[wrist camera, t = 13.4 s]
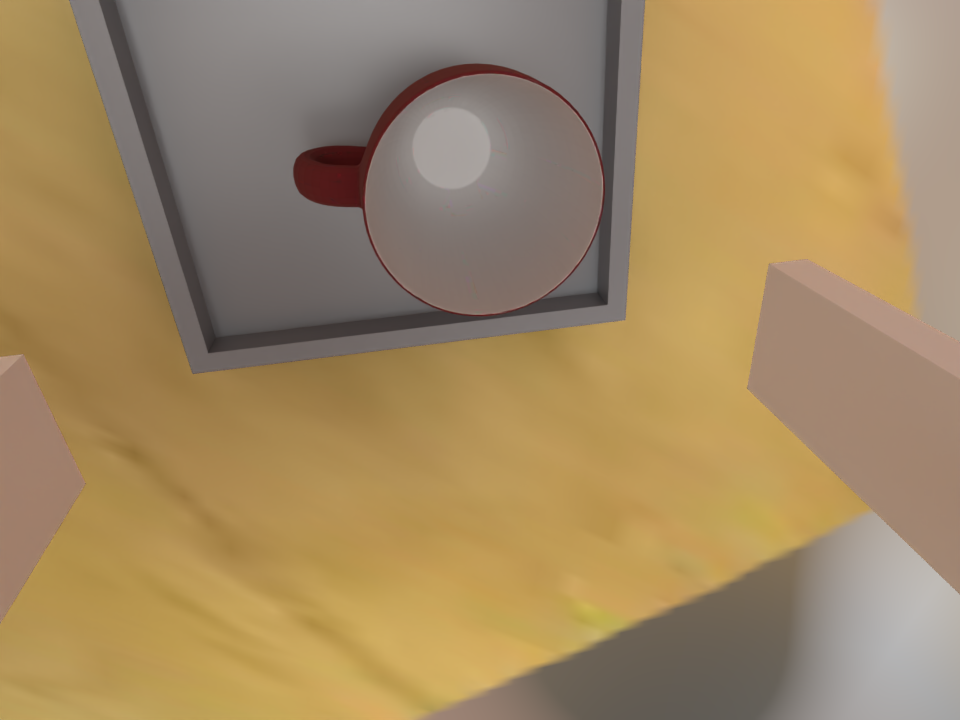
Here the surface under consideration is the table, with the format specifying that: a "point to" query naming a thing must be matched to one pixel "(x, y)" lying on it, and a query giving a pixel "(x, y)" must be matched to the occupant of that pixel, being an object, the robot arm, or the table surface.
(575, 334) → the table surface
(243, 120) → the tray
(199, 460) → the table surface
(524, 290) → the mug
